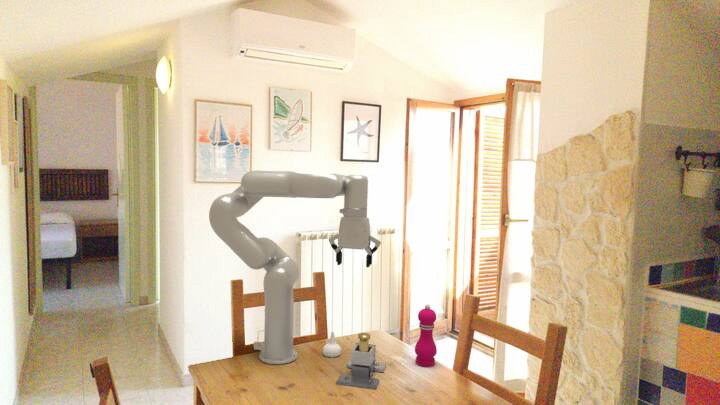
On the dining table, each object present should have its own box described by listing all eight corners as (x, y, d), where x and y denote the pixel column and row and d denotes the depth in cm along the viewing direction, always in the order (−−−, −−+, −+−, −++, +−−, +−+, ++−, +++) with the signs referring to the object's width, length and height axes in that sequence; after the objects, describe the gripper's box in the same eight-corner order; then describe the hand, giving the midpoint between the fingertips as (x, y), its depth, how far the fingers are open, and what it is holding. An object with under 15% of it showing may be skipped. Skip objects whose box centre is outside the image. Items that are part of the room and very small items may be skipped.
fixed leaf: (336, 383, 146) (336, 370, 145) (346, 368, 157) (346, 356, 156) (376, 389, 143) (376, 376, 143) (383, 373, 154) (383, 361, 154)
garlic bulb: (331, 361, 164) (333, 338, 163) (318, 354, 168) (320, 331, 167) (344, 356, 168) (346, 333, 167) (331, 349, 173) (333, 327, 171)
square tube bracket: (341, 375, 151) (341, 350, 150) (350, 361, 162) (351, 337, 161) (379, 381, 148) (380, 354, 147) (386, 365, 159) (387, 341, 159)
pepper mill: (435, 368, 159) (438, 308, 157) (413, 366, 160) (415, 306, 159) (436, 360, 166) (439, 302, 164) (415, 357, 167) (417, 300, 166)
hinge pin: (355, 376, 151) (356, 336, 150) (358, 371, 155) (359, 332, 154) (367, 378, 150) (368, 337, 149) (370, 373, 154) (371, 333, 153)
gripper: (326, 213, 157) (325, 265, 158) (379, 215, 153) (377, 269, 154) (332, 210, 164) (331, 261, 166) (383, 213, 160) (381, 265, 162)
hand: (353, 265), depth 160 cm, fingers open, 9 cm apart
